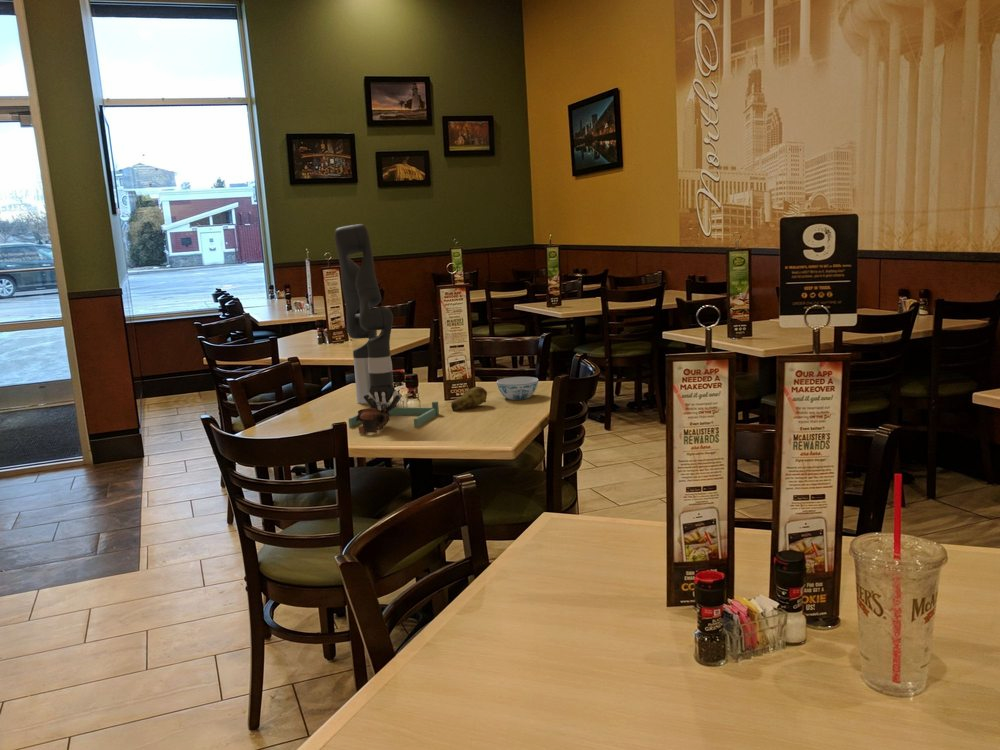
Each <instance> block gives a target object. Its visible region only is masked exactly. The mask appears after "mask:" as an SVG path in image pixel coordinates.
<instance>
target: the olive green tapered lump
mask: <svg viewBox="0 0 1000 750" xmlns="http://www.w3.org/2000/svg"><path fill="white" fill-rule="evenodd" d="M487 396H488V392H487V389H485V388H484V387H481V386H474V387H471V388H470V389H468V390H466V392H464V393H463V394H462V395H461V396H459V397H457V398H455V399H454V400H453V401H452V402H451V404H450V407H451V410H452V411H454V412H460V411H465V410H471V409H474V408H476V407H478V406H479V405H482V404H483V403H487Z"/></svg>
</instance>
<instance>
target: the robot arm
mask: <svg viewBox="0 0 1000 750" xmlns="http://www.w3.org/2000/svg"><path fill="white" fill-rule="evenodd" d="M334 243H335V247H336V251H337V257H338V262H339V268H340V279H341V280H340V281H341V289H342V293H343V300H344V305H345V318H346V319H345V320H346V332H347V335H348V337H349V338H350V339H354V340H357V339H358V340H359V339H361V340H362V339H368V340H367V342H365V344H363V345H361V346H358V347H357V348H354V349H353V351H352V357H353V367H354V369H353V370H354V378H355V379H354V380H355V390H356V393H355V394H356V402H357V404H362V405H363V404H364V405H369V407H370V406H371V408H375V409H379V410H380V411H381V413H386V414H387V415H388V417H389V420H388V422H390V415H389V411H390V410H392V409H394V408H395V407H396V406H397V404H398V403H399V401H400V400H401V399H402V397H403V395H402V393H398V392H397V391H396V388H395V387H394V373H393V362H392V358H391V349H390V345H391V341H390V340H391V332H392V327H393V323H394V314H393V312H392V310H391V309H390V308H389V307H386V306H384V307H376V306H378V305H379V304H380V303H381V302H382V295H381V294H382V293H381V290H380V287H379V284H378V283H379V282H378V281H377V280H378V279H377V276H376V275H377V274H376V271H375V262H374V261H375V260H374V255H373V249H372V245H371V239H370V234H369V231H368V228H367V227H366V225H365V224H363V223H359V224H357V223H355V224H351V225H345V226H341V227H340V226H339V227H337V228H336V229H335V230H334ZM358 253H362V260H361V264H360V266H359V265H358V264H357V263H356V262H355V261H353V259H351V257H350V256H349V255H352V254H358ZM358 310H359V313H357V312H358ZM378 331H380V333H378ZM378 334H379V335H378ZM391 399H393V400H392V401H391ZM375 401H376V402H375Z"/></svg>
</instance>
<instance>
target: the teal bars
mask: <svg viewBox="0 0 1000 750" xmlns="http://www.w3.org/2000/svg"><path fill="white" fill-rule="evenodd" d="M375 402H376V401H375ZM369 408H371V406H370V405H369ZM439 414H440V413H439V401H433V402H431V407H421V406H420V407H411V406H410V407H407V406H406V407H402V406H401V407H400V406H399V407H396V406H395V408H394V409H392V410H390V411H389V416H417V417H415V418H413V427H414V428H419V427H420V426H422V425H424V424H425V423H427V422H428V421H430V420H432V419H433V418H435V417H436V416H438V415H439ZM357 415H358V413H357V414H355V415H353V416H351V417H349V418H348V428H353V427H354V428H355V427H356V426H357V425H359V424H360V423H363V422H362V421H357V422H356V416H357Z"/></svg>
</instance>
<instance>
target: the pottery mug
mask: <svg viewBox="0 0 1000 750" xmlns="http://www.w3.org/2000/svg"><path fill="white" fill-rule="evenodd" d="M357 414H358V415H357ZM357 414H356V415H357V416H356V422H357V421H362V422H361V423H362V425H361V426H358V427H357V429H358V433H359V434H364V433H365V434H366V433H372V434H377V433H378V429H379V430H383V429H384V427H385V426H387V424H388V423H389V421H390V420H389V418H390V416H389V417H388V415H387V414H386V413H381V411H380V410H379V409H375V408H370V407H367V408H363V409H359V410H358V411H357ZM388 420H389V421H388Z"/></svg>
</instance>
